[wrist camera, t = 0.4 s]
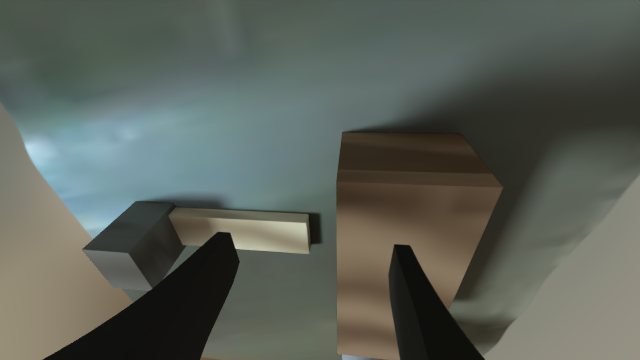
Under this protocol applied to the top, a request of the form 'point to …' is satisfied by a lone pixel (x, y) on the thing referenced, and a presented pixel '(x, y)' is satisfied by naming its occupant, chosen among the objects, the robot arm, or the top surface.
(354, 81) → the top surface
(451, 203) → the walnut bench
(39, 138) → the top surface
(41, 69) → the top surface
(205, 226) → the ash handle hammer
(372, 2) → the top surface
